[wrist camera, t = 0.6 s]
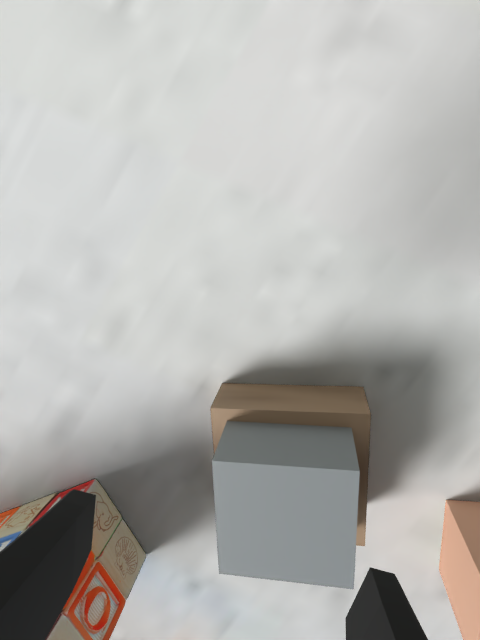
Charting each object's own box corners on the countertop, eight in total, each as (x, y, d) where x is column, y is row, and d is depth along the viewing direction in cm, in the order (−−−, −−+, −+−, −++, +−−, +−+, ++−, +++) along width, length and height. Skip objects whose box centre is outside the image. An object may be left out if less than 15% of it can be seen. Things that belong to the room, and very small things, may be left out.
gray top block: (347, 531, 19) (353, 589, 16) (231, 520, 20) (218, 573, 17) (351, 427, 18) (359, 471, 15) (227, 420, 18) (211, 460, 16)
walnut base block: (357, 501, 22) (364, 546, 19) (231, 492, 23) (220, 533, 20) (362, 383, 20) (370, 413, 17) (223, 380, 21) (210, 408, 18)
